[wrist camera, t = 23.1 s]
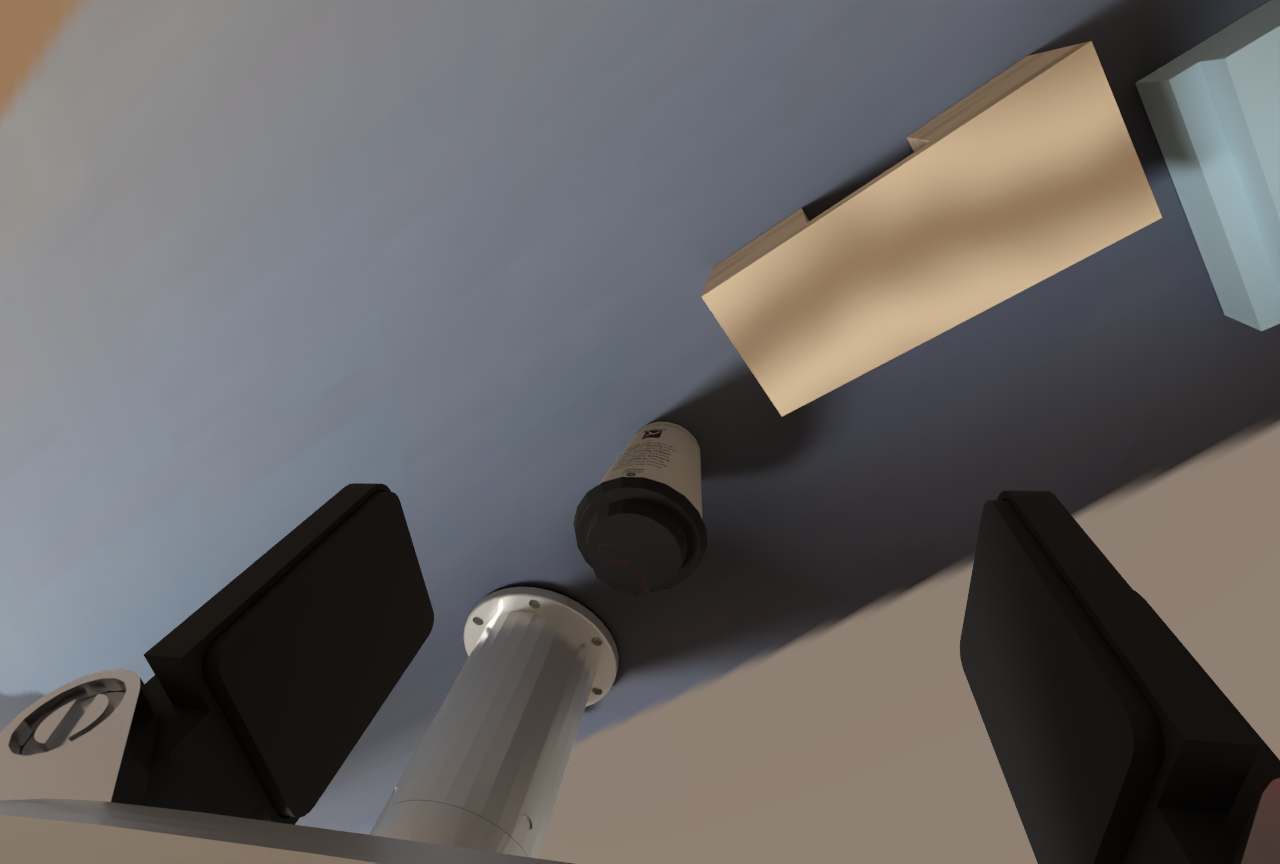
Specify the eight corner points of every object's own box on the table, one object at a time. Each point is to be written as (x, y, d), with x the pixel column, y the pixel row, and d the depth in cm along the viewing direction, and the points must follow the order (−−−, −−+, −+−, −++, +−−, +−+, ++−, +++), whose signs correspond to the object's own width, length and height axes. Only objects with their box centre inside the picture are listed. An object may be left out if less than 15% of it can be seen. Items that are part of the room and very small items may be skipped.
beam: (1088, 198, 28) (1162, 217, 22) (780, 371, 34) (781, 416, 29) (1026, 56, 26) (1091, 40, 21) (712, 267, 32) (701, 296, 27)
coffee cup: (634, 385, 36) (592, 470, 28) (739, 433, 37) (729, 532, 28) (596, 472, 40) (547, 571, 31) (692, 515, 40) (670, 626, 31)
